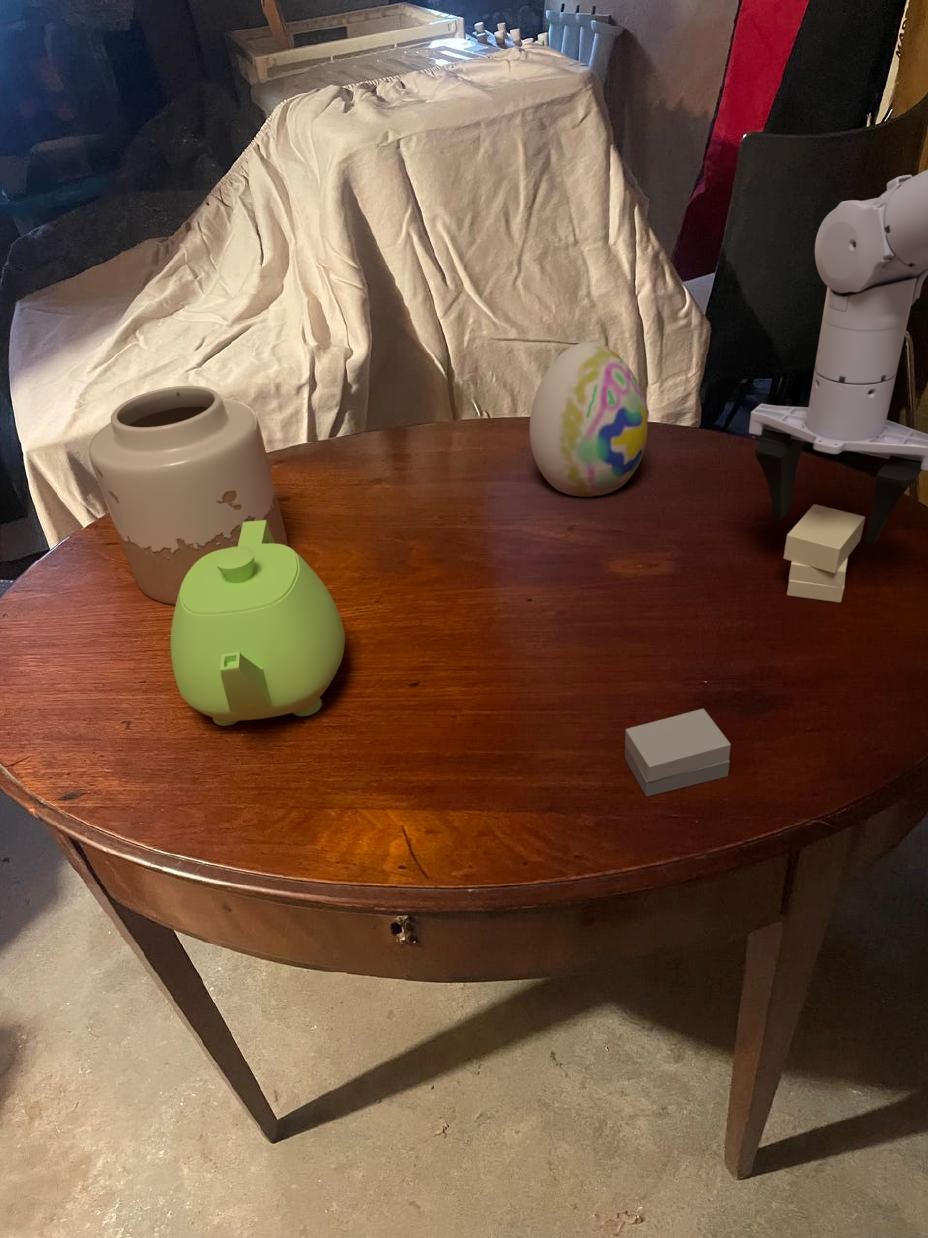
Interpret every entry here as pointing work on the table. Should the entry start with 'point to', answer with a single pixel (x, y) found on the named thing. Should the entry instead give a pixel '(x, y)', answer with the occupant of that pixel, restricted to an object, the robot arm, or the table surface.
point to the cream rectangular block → (824, 538)
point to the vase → (182, 481)
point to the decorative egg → (588, 422)
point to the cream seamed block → (816, 582)
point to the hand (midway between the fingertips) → (826, 526)
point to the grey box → (677, 752)
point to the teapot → (254, 632)
